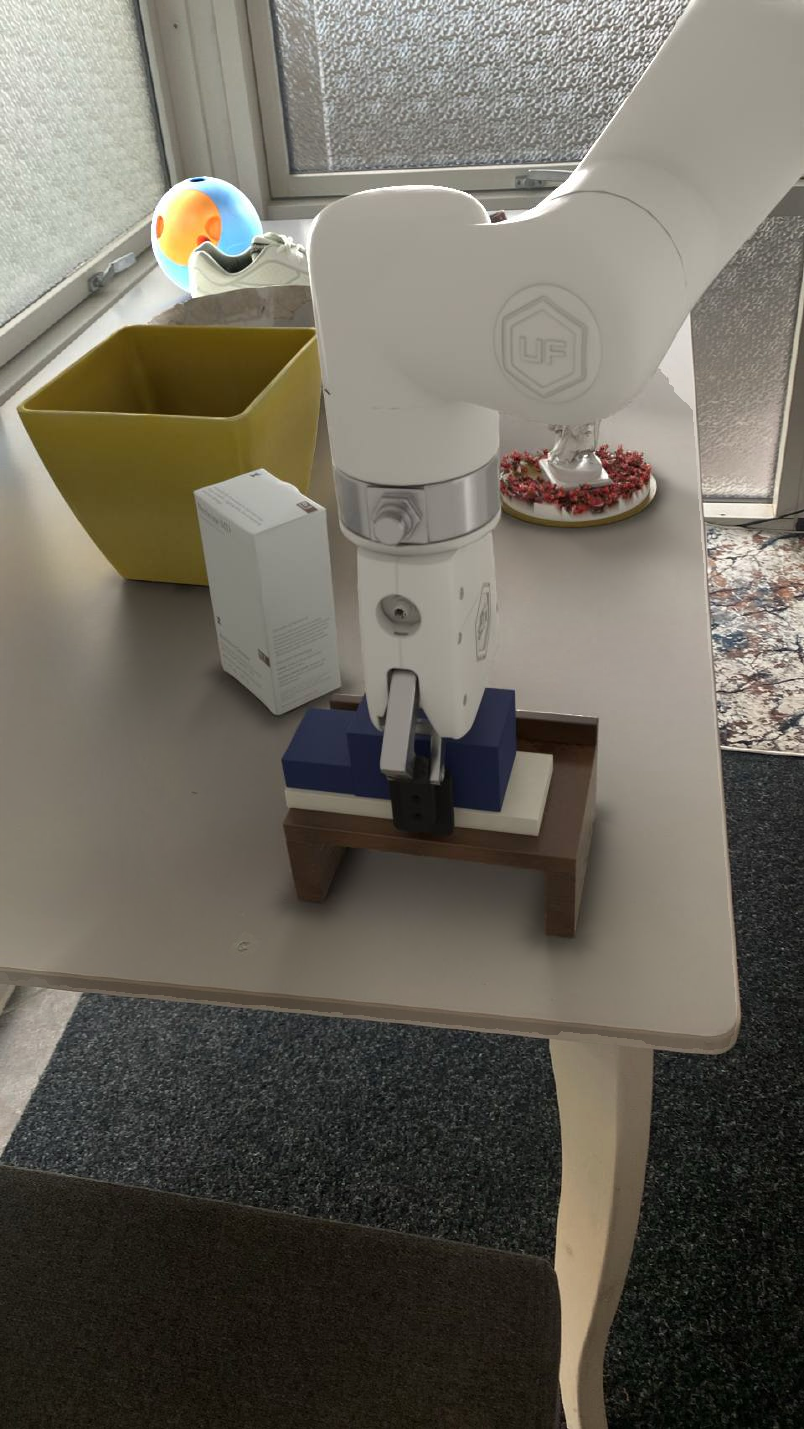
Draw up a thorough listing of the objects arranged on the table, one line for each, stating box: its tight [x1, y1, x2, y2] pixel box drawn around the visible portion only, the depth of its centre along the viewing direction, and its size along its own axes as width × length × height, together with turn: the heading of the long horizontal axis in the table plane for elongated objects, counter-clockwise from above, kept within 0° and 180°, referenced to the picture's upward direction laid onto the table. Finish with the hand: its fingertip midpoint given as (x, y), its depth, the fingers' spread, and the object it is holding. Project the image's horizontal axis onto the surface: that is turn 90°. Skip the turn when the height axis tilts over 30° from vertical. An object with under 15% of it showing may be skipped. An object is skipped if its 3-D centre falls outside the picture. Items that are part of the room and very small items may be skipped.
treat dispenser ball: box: [150, 176, 264, 294], centre depth 157 cm, size 16×15×15 cm
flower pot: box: [15, 323, 322, 587], centre depth 94 cm, size 19×19×17 cm
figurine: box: [500, 420, 658, 528], centre depth 99 cm, size 15×15×14 cm
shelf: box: [282, 693, 600, 938], centre depth 64 cm, size 16×10×8 cm, turn 76°
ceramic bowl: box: [146, 285, 323, 390], centre depth 123 cm, size 22×23×10 cm
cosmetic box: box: [194, 469, 343, 716], centre depth 78 cm, size 8×6×15 cm
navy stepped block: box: [280, 686, 553, 836], centre depth 61 cm, size 14×5×6 cm, turn 76°
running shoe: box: [189, 232, 311, 298], centre depth 141 cm, size 11×30×12 cm, turn 89°
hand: (439, 782), depth 62 cm, fingers open, 6 cm apart
